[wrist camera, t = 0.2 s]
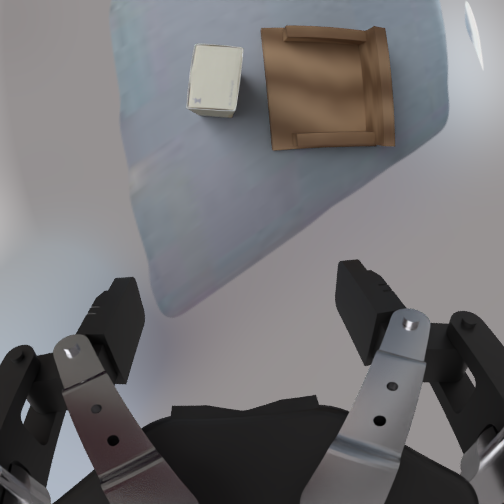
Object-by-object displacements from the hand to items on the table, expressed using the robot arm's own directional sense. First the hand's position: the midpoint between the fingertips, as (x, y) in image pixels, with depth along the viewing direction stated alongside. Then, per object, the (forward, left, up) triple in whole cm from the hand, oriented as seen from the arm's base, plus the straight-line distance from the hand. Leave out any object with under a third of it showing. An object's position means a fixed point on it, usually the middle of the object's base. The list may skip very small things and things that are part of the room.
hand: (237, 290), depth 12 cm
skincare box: (-10, 0, -29) cm, 31 cm away
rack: (-10, +13, -29) cm, 33 cm away
